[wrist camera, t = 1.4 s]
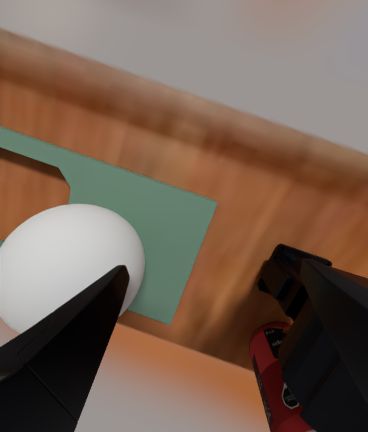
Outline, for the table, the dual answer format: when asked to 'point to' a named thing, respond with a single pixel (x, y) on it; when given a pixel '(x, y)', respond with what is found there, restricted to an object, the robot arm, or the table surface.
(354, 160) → the table surface
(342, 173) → the table surface
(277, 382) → the canned food
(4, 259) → the ball
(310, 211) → the table surface
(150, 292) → the putting board
